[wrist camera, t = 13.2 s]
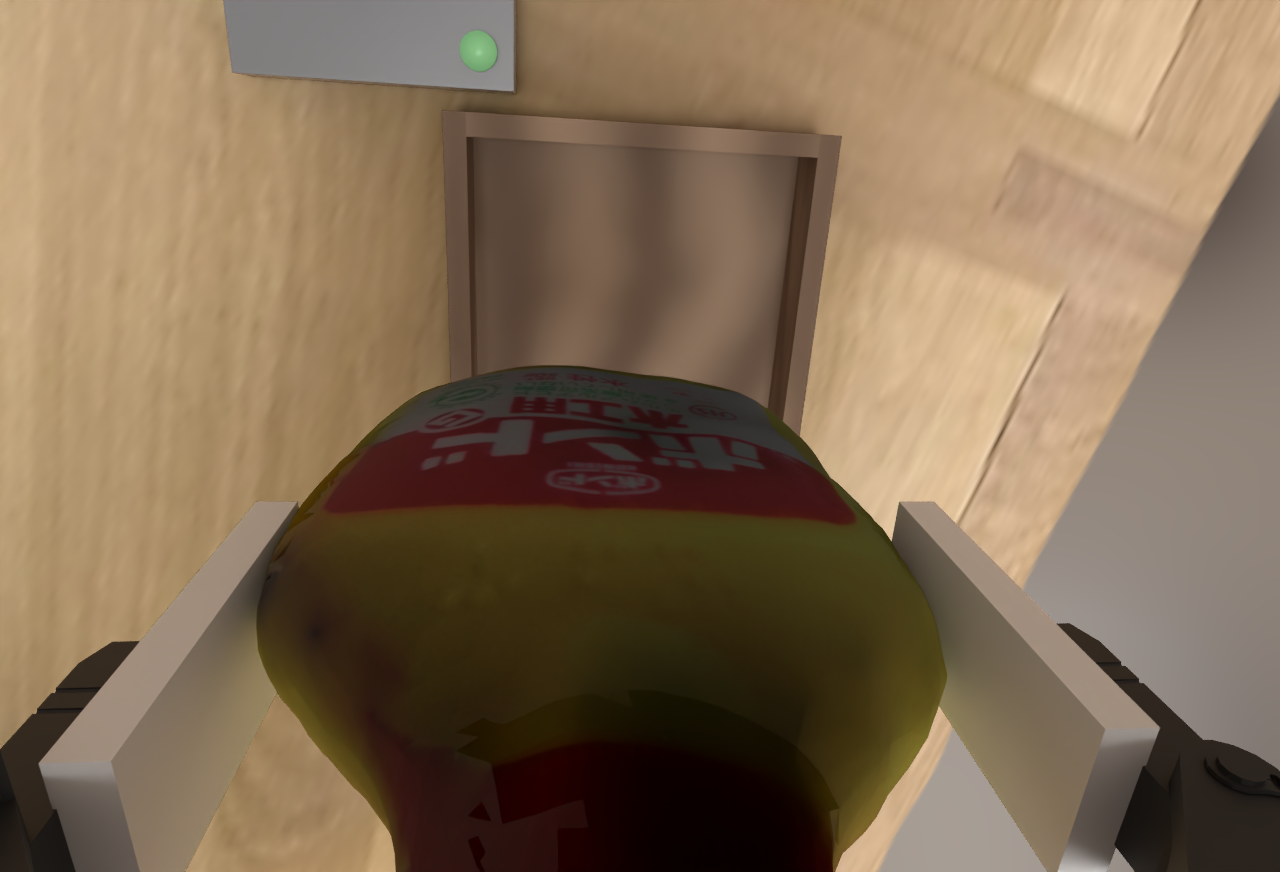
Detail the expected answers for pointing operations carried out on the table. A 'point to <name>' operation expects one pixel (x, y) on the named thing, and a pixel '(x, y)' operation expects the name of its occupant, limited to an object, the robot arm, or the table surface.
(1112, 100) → the table surface
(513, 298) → the tray
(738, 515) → the bottle
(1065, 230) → the table surface
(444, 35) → the grey flat square piece
